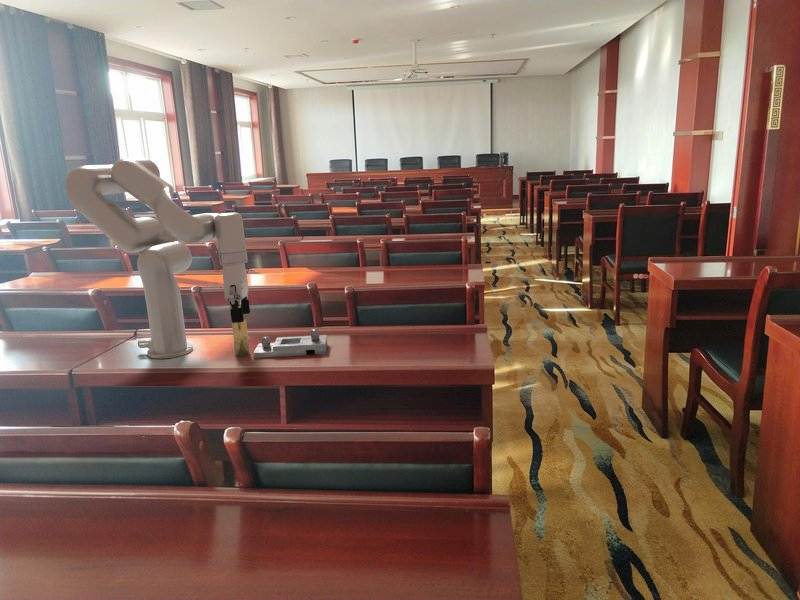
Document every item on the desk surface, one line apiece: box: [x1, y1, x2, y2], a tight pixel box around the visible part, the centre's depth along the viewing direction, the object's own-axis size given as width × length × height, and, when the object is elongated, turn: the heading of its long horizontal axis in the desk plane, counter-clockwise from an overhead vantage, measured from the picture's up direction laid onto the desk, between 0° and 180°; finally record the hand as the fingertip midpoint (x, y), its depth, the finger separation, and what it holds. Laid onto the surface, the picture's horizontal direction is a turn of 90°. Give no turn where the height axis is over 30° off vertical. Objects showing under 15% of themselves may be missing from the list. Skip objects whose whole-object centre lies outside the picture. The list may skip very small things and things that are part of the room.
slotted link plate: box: [253, 335, 308, 359], centre depth 173 cm, size 14×9×4 cm, turn 94°
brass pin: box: [231, 318, 251, 357], centre depth 171 cm, size 4×4×10 cm
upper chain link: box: [273, 328, 328, 355], centre depth 173 cm, size 14×9×6 cm, turn 94°
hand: (241, 317), depth 170 cm, fingers open, 9 cm apart
